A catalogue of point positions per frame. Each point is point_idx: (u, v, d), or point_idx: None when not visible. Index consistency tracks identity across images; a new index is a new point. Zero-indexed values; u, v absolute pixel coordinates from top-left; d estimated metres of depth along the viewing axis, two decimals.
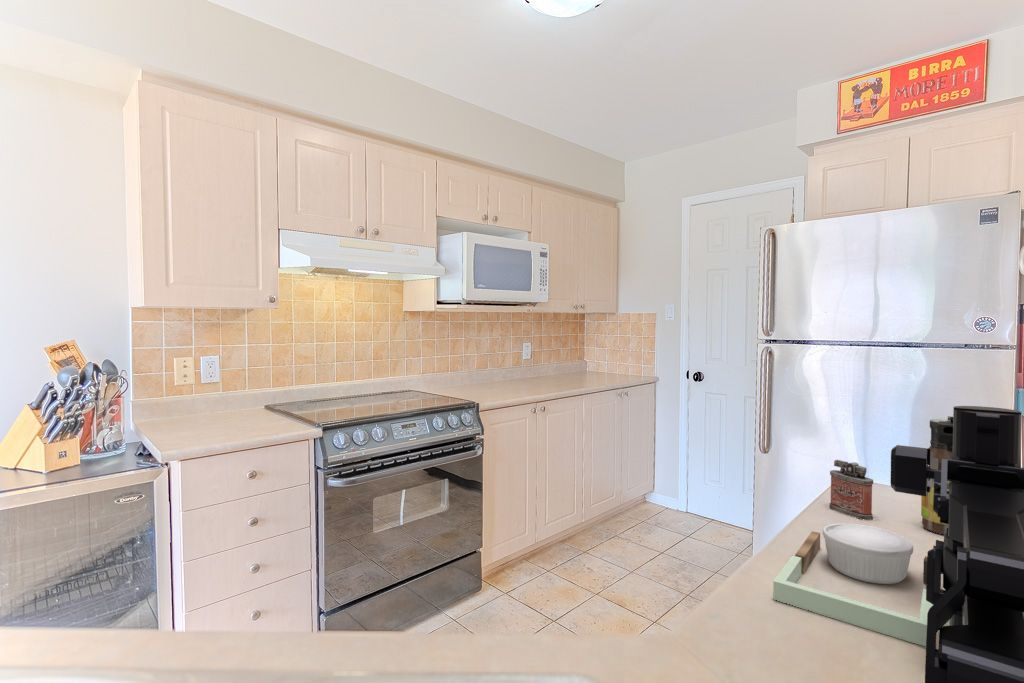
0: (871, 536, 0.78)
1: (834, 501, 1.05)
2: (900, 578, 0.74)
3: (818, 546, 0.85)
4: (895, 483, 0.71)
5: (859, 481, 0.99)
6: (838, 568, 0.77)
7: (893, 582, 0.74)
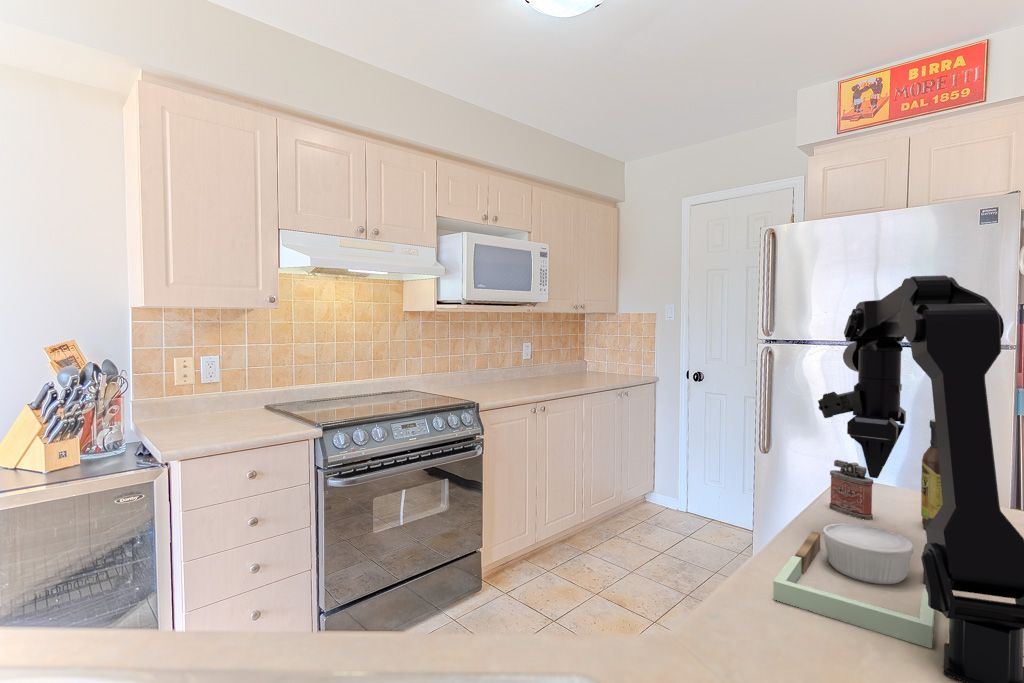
0: (871, 536, 0.78)
1: (834, 501, 1.05)
2: (900, 578, 0.74)
3: (818, 546, 0.85)
4: (885, 420, 0.78)
5: (859, 481, 0.99)
6: (838, 568, 0.77)
7: (893, 582, 0.74)
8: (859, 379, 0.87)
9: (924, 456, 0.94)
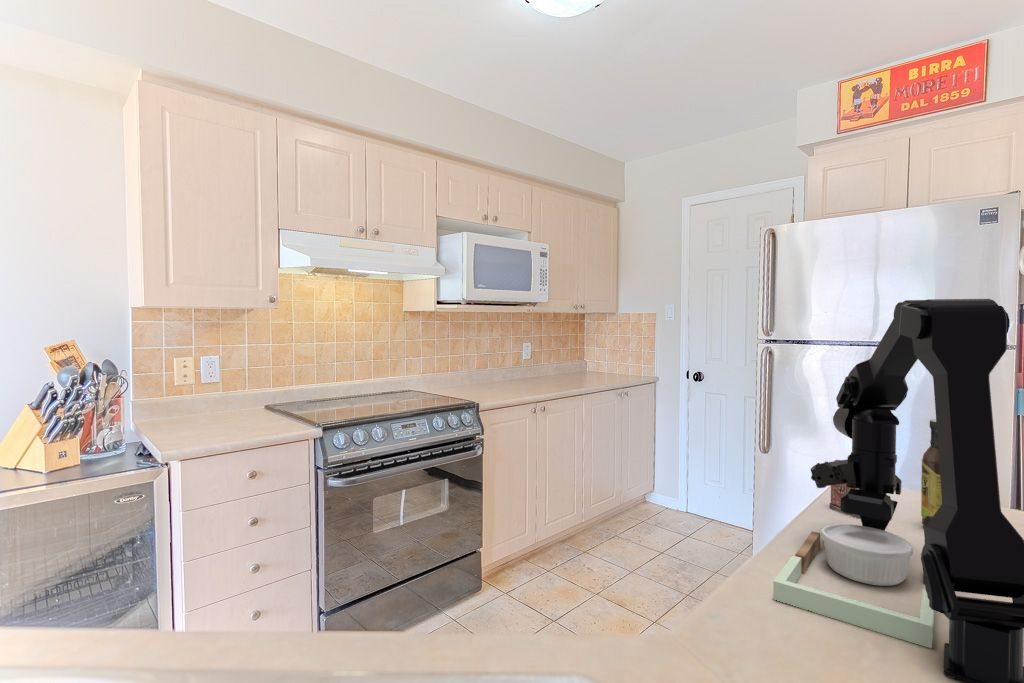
0: (870, 537, 0.77)
1: (834, 501, 1.05)
2: (899, 580, 0.73)
3: (818, 546, 0.85)
4: (880, 499, 0.75)
5: None
6: (836, 570, 0.76)
7: (892, 584, 0.73)
8: (853, 449, 0.84)
9: (924, 456, 0.94)
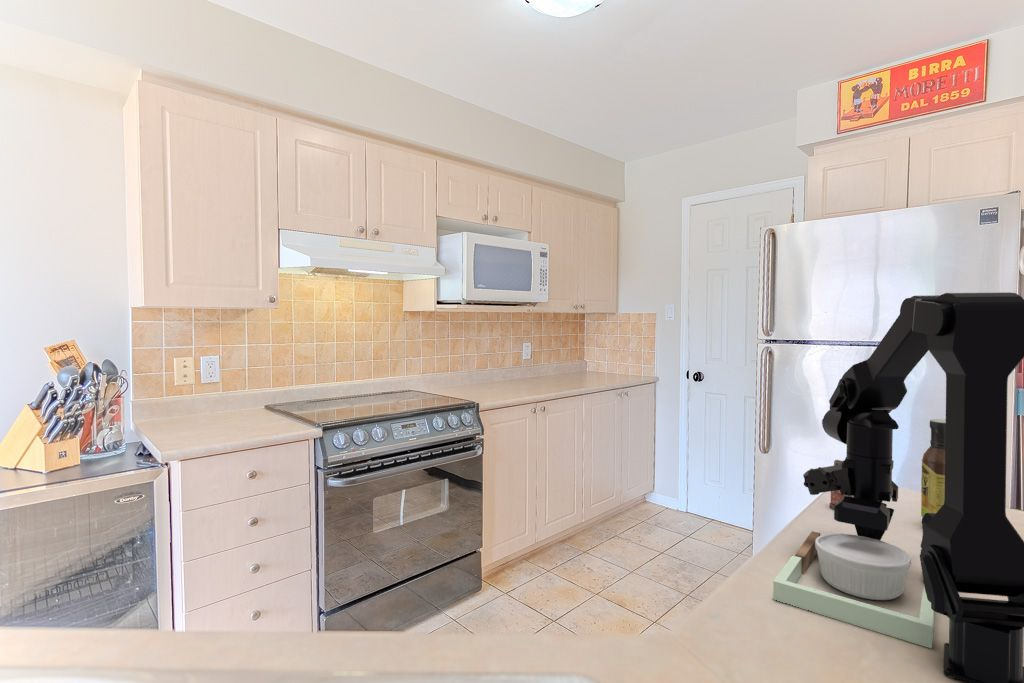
0: (866, 548, 0.73)
1: (834, 501, 1.05)
2: (898, 594, 0.69)
3: None
4: (875, 507, 0.71)
5: None
6: (831, 583, 0.72)
7: (890, 598, 0.69)
8: (847, 454, 0.80)
9: (924, 456, 0.94)
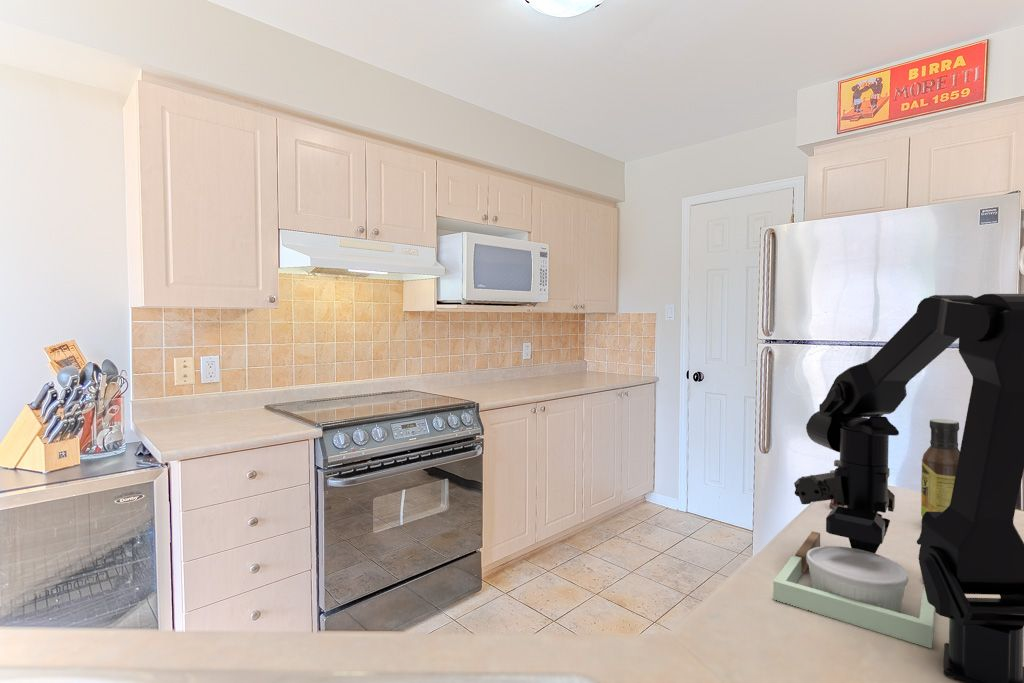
0: (860, 563, 0.69)
1: None
2: None
3: (818, 546, 0.85)
4: (869, 519, 0.67)
5: None
6: None
7: None
8: (841, 462, 0.75)
9: (924, 456, 0.94)
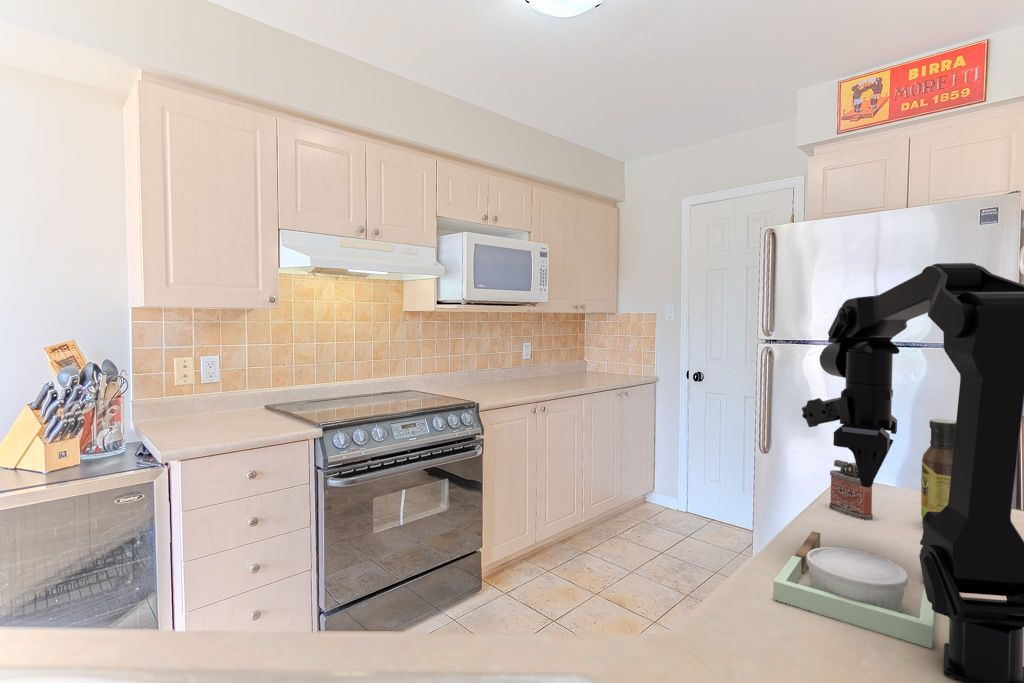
0: (860, 564, 0.69)
1: (834, 501, 1.05)
2: None
3: (818, 546, 0.85)
4: (875, 430, 0.70)
5: (859, 481, 0.99)
6: None
7: None
8: (847, 384, 0.79)
9: (924, 456, 0.94)
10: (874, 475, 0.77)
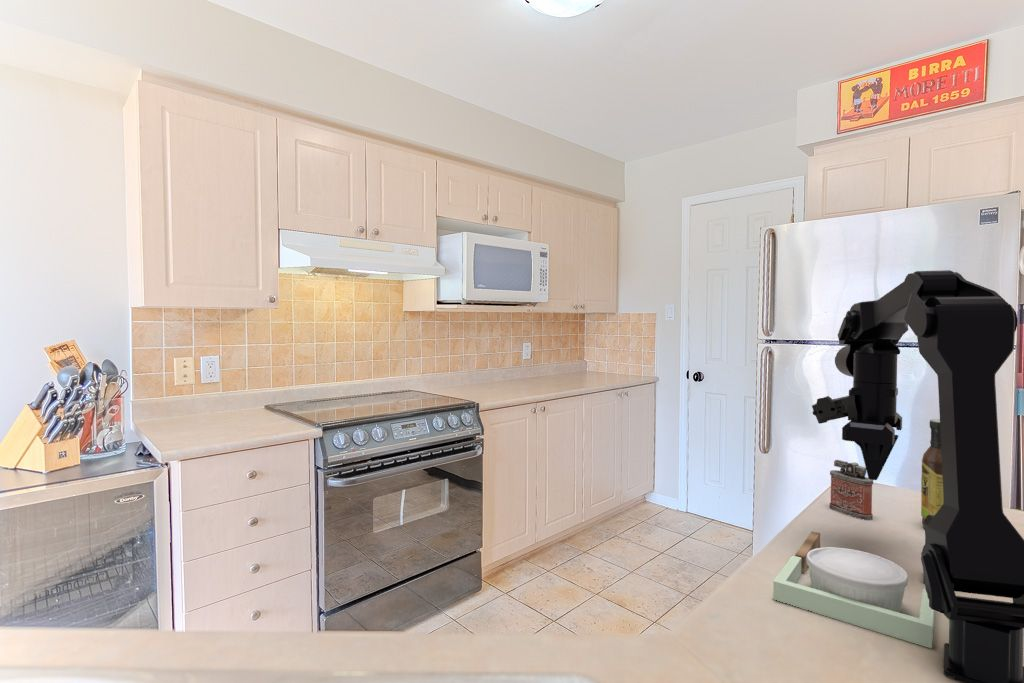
0: (860, 564, 0.69)
1: (834, 501, 1.05)
2: None
3: (818, 546, 0.85)
4: (881, 425, 0.76)
5: (859, 481, 1.00)
6: None
7: None
8: (854, 383, 0.84)
9: (924, 456, 0.94)
10: (880, 468, 0.82)
